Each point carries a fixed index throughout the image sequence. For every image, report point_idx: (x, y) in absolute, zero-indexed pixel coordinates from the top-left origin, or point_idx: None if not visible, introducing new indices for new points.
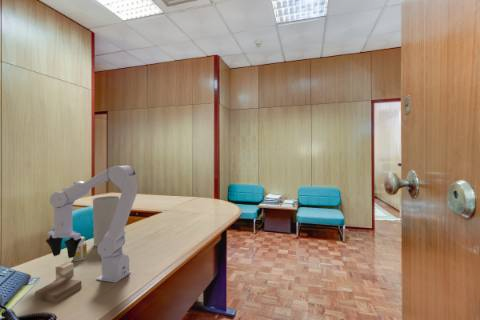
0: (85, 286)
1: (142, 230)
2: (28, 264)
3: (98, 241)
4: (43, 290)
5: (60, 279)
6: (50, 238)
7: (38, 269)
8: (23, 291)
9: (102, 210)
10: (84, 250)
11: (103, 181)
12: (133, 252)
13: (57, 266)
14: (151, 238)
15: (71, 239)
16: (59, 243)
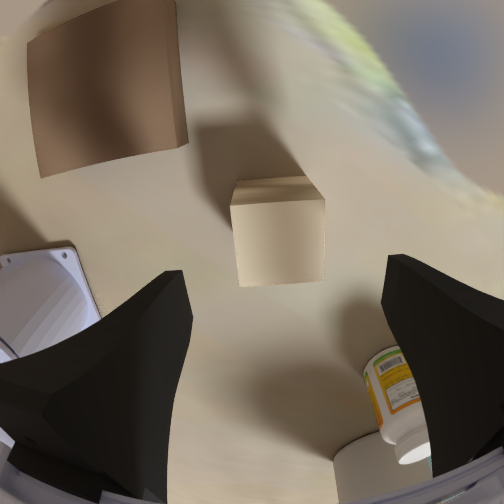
0: (60, 186)
1: (327, 496)
2: None
3: (389, 448)
4: (126, 14)
5: (163, 129)
6: None
7: (491, 232)
8: (343, 26)
9: None
10: (373, 404)
11: None
12: (198, 439)
13: (310, 206)
14: (245, 486)
15: (50, 465)
16: (430, 389)
